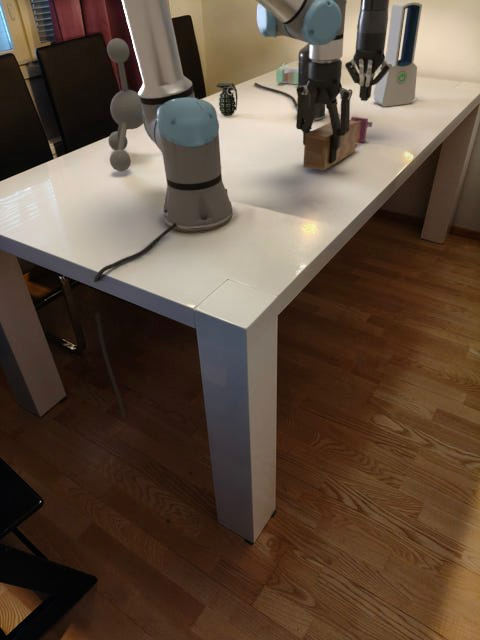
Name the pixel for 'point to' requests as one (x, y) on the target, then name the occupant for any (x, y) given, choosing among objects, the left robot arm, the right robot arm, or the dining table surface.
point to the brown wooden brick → (327, 146)
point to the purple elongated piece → (361, 128)
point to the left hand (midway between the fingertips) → (320, 159)
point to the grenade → (227, 99)
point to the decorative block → (288, 73)
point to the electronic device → (403, 72)
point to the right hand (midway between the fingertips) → (364, 100)
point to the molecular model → (123, 108)
